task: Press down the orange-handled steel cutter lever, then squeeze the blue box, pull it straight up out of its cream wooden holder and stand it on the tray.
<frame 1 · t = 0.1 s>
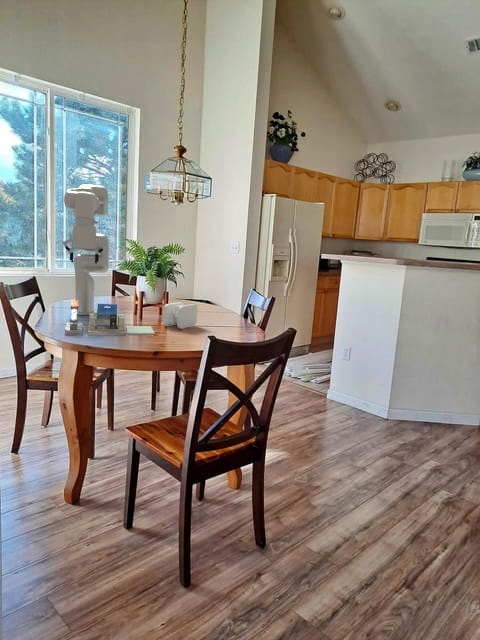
hand: (84, 262, 194), 31 cm above the table, tool pointing down, fingers open, 9 cm apart
cable organizer: (179, 326, 229), on the table
cutter lever: (74, 313, 202), point 8 cm above the table, hinge at -25.0°
blue box: (106, 331, 207), resting in holder
tray: (139, 331, 212), on the table
holder: (106, 330, 207), on the table
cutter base: (74, 330, 202), on the table
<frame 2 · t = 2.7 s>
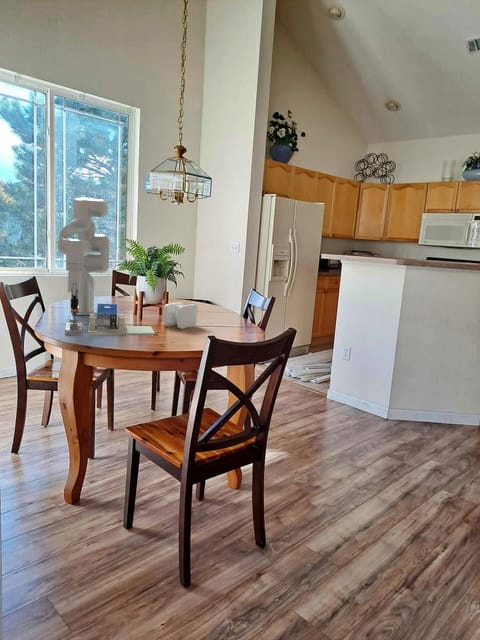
hand: (74, 307, 205), 10 cm above the table, tool pointing down, fingers closed
cutter lever: (74, 315, 203), point 6 cm above the table, hinge at -14.5°, touching gripper
everything else where it was.
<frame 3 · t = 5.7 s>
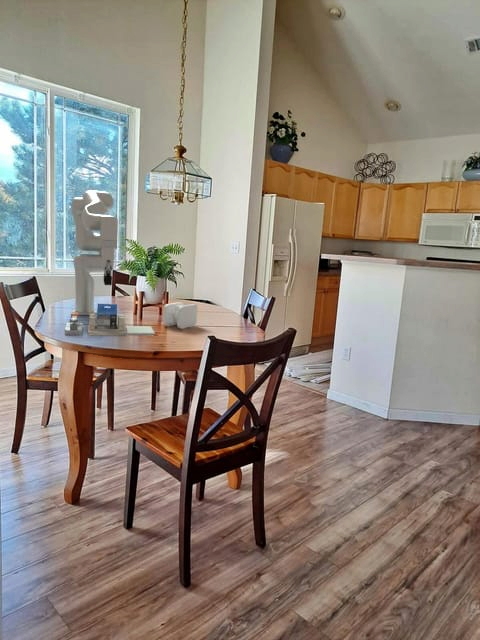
hand: (107, 283, 203), 22 cm above the table, tool pointing down, fingers open, 7 cm apart
cutter lever: (74, 319, 203), point 5 cm above the table, hinge at 0.5°
everything else where it was.
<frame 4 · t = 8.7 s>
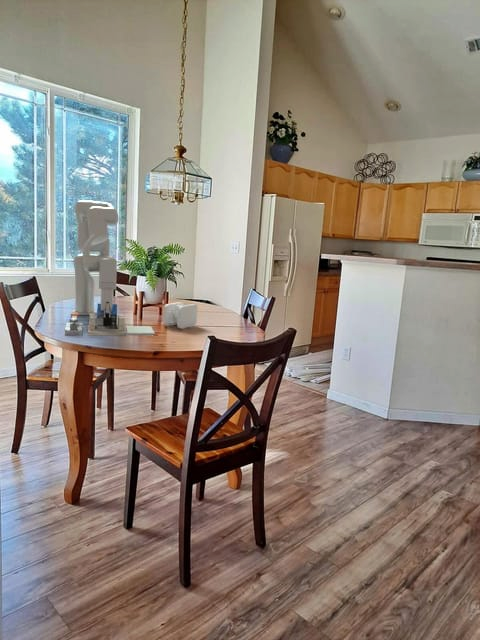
hand: (106, 324, 206), 3 cm above the table, tool pointing down, fingers closed on blue box, 4 cm apart
blue box: (106, 331, 207), resting in holder, touching gripper
everything else where it was.
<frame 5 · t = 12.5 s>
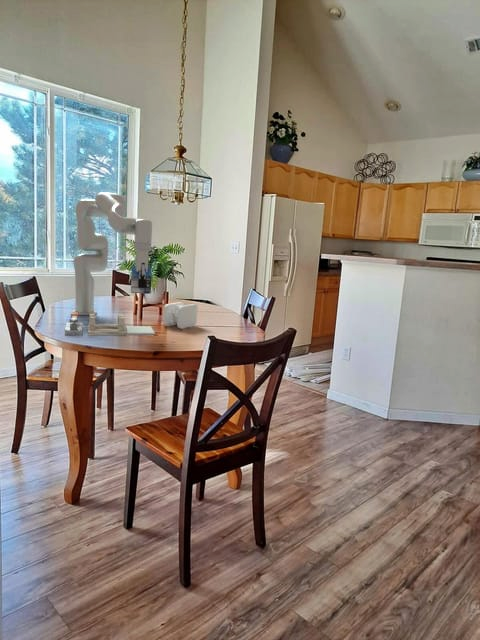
hand: (141, 286, 208), 21 cm above the table, tool pointing down, fingers closed on blue box, 4 cm apart
blue box: (140, 293, 208), point 18 cm above the table, touching gripper
everything else where it was.
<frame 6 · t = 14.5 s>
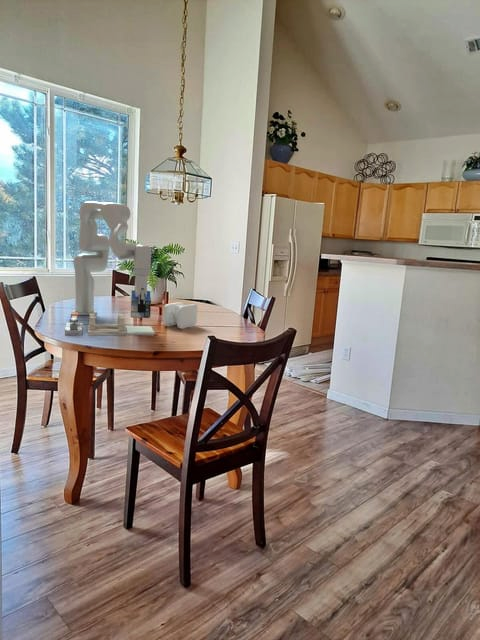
hand: (140, 311, 210), 10 cm above the table, tool pointing down, fingers closed on blue box, 4 cm apart
blue box: (140, 317, 210), point 6 cm above the table, touching gripper
everything else where it was.
when the fingers open (5 cm above the table, at t = 16.2 s): blue box drops 1 cm, resting on tray.
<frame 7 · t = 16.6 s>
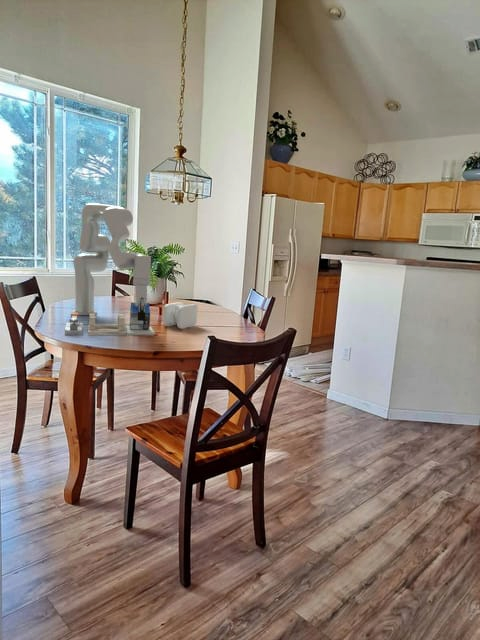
hand: (140, 318, 210), 6 cm above the table, tool pointing down, fingers open, 8 cm apart
blue box: (139, 329, 212), point 1 cm above the table, touching tray
everything else where it was.
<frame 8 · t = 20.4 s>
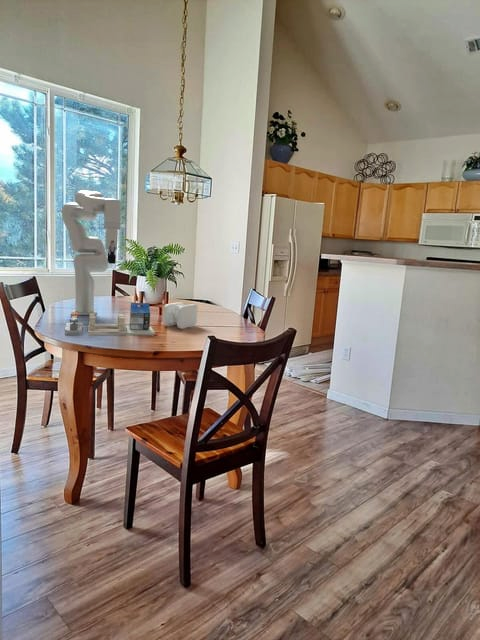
hand: (111, 262, 214), 30 cm above the table, tool pointing down, fingers open, 9 cm apart
nothing on the table moved.
at the end: cutter lever at +0° (first picture: -25°); blue box inside the target area on the tray (0.2 cm from its centre), point 0.6 cm above the tray's base; blue box tilted 0° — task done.
